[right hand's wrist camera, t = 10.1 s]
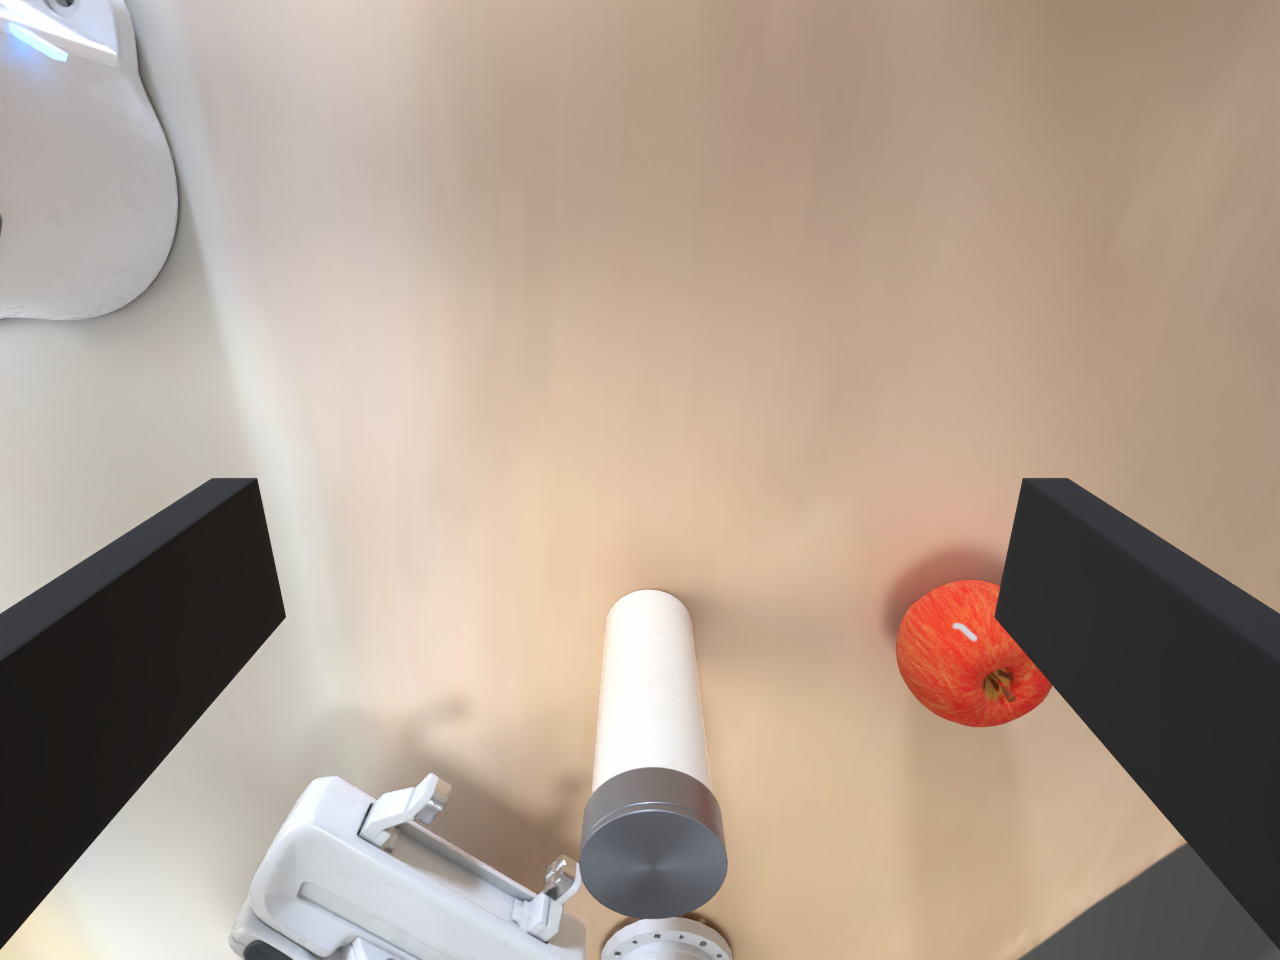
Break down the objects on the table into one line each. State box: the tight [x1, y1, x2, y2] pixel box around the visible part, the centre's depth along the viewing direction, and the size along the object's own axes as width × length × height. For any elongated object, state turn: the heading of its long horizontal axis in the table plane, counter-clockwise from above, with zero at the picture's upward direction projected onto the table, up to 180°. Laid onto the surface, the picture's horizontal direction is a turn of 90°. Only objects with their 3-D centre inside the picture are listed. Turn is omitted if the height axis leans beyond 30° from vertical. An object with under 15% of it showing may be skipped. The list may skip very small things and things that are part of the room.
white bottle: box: [591, 590, 713, 796], centre depth 36 cm, size 5×5×16 cm
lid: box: [579, 767, 727, 919], centre depth 29 cm, size 6×6×2 cm
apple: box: [896, 580, 1052, 727], centre depth 39 cm, size 8×8×8 cm
